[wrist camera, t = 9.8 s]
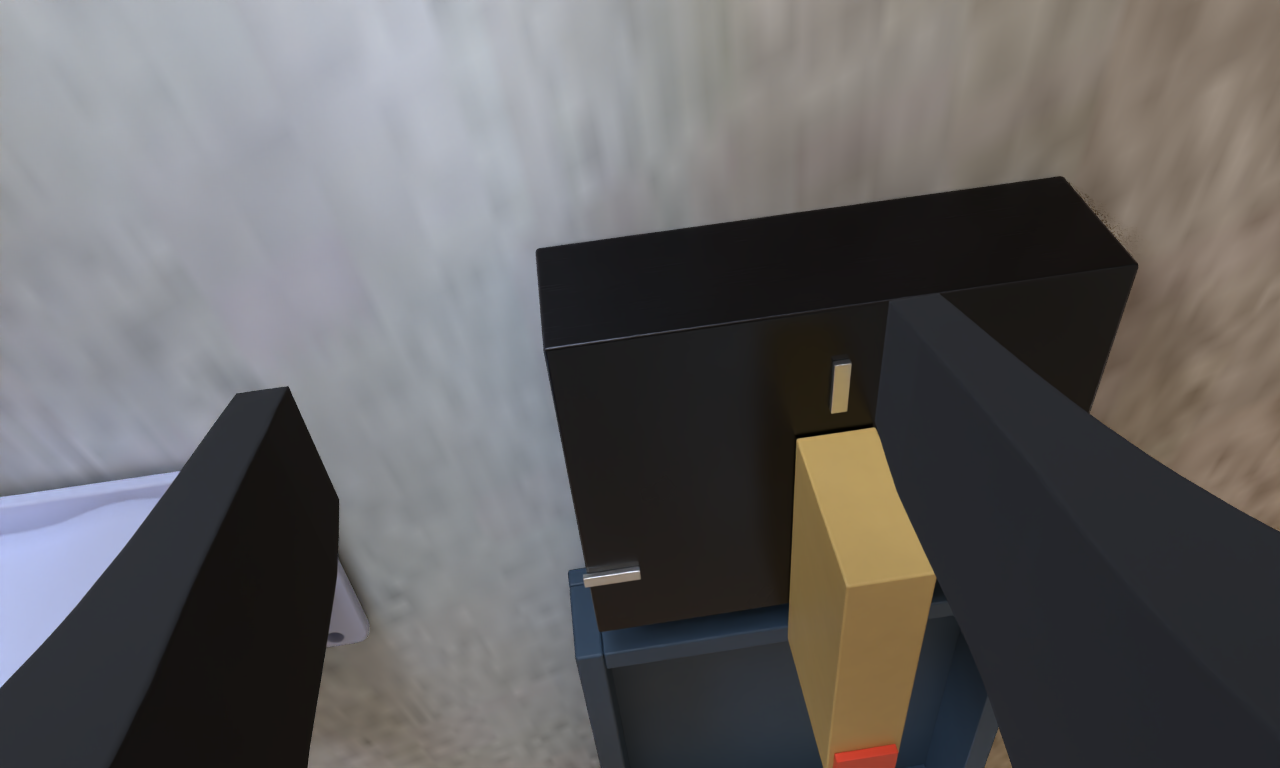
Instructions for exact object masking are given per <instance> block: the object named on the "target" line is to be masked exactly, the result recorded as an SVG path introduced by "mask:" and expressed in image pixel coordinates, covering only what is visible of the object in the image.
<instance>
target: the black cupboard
mask: <svg viewBox="0 0 1280 768" xmlns="http://www.w3.org/2000/svg"><path fill="white" fill-rule="evenodd" d="M536 264H537V276H538V288H539V301H540V313H541V325H542V338H543V350H544V355H545V360H546V366H547V371H548V376H549V381H550V386H551V391H552V396H553V401H554V407H555V412H556V417H557V422H558V427H559V432H560V437H561V442H562V448H563V453H564V458H565V463H566V468H567V473H568V478H569V484H570V489H571V494H572V499H573V504H574V509H575V514H576V519H577V525H578V530H579V535H580V540H581V545H582V550H583V555H584V561H585V566H586V571H587V574H583V580H584V585H585V588H587V587H590V591H591V596H592V602H593V607H594V612H595V617H596V622H597V627H598V630H599V632H605V631H612V630H618V629H625V628H631V627H638V626H644V625H651V624H657V623H664V622H670V621H677V620H683V619H690V618H696V617H703V616H709V615H716V614H722V613H729V612H735V611H742V610H748V609H755V608H761V607H768V606H774V605H781V604H787V603H789V598H790V575H791V553H792V530H793V508H794V486H795V463H796V441H797V439H799V438H805V437H812V436H819V435H826V434H833V433H839V432H846V431H853V430H860V429H866V428H873V427H874V428H876V430H877V427H876V424H875V414H876V406H877V398H878V390H879V382H880V373H881V365H882V357H883V349H884V341H885V332H886V324H887V316H888V308H889V301H891V300H898V299H905V298H912V297H919V296H926V295H933V294H940V295H941V296H943V297H944V298H945V299H946V300H948V301H949V302H950V303H951V304H953V305H954V306H955V307H956V308H957V309H959V310H960V311H961V312H962V313H963V314H965V315H966V316H967V317H968V318H969V319H971V320H972V321H973V322H974V323H975V324H977V325H978V326H979V327H980V328H981V329H983V330H984V331H985V332H986V333H987V334H989V335H990V336H991V337H992V338H993V339H995V340H996V341H997V342H998V343H999V344H1001V345H1002V346H1003V347H1004V348H1006V349H1007V350H1008V351H1009V352H1010V353H1012V354H1013V355H1014V356H1015V357H1017V358H1018V359H1019V360H1020V361H1021V362H1023V363H1024V364H1025V365H1026V366H1028V367H1029V368H1030V369H1031V370H1033V371H1034V372H1035V373H1036V374H1038V375H1039V376H1040V377H1042V378H1043V379H1044V380H1045V381H1047V382H1048V383H1049V384H1051V385H1052V386H1053V387H1054V388H1056V389H1057V390H1058V391H1060V392H1061V393H1062V394H1063V395H1065V396H1066V397H1067V398H1069V399H1070V400H1071V401H1073V402H1074V403H1075V404H1077V405H1078V406H1079V407H1081V408H1082V409H1084V410H1085V411H1086V412H1088V413H1089V414H1090V411H1091V408H1092V405H1093V402H1094V399H1095V396H1096V393H1097V390H1098V387H1099V384H1100V381H1101V378H1102V375H1103V372H1104V369H1105V366H1106V363H1107V360H1108V357H1109V354H1110V351H1111V348H1112V345H1113V342H1114V339H1115V336H1116V333H1117V330H1118V327H1119V324H1120V321H1121V318H1122V315H1123V312H1124V309H1125V306H1126V303H1127V300H1128V297H1129V294H1130V291H1131V288H1132V285H1133V282H1134V279H1135V276H1136V273H1137V270H1138V263H1137V262H1136V261H1135V260H1134V259H1133V257H1132V256H1131V255H1130V254H1129V253H1128V252H1127V250H1126V249H1125V248H1124V247H1123V246H1122V245H1121V243H1120V242H1119V241H1118V240H1117V239H1116V238H1115V237H1114V235H1113V234H1112V233H1111V232H1110V231H1109V230H1108V228H1107V227H1106V226H1105V225H1104V224H1103V223H1102V221H1101V220H1100V219H1099V218H1098V217H1097V216H1096V214H1095V213H1094V212H1093V211H1092V210H1091V209H1090V207H1089V206H1088V205H1087V204H1086V203H1085V202H1084V200H1083V199H1082V198H1081V197H1080V196H1079V195H1078V193H1077V192H1076V191H1075V190H1074V189H1073V188H1072V186H1071V185H1070V184H1069V183H1068V182H1067V181H1066V179H1065V178H1064V177H1061V176H1059V177H1052V178H1045V179H1038V180H1030V181H1023V182H1016V183H1009V184H1001V185H994V186H987V187H980V188H973V189H965V190H958V191H951V192H944V193H936V194H929V195H922V196H915V197H907V198H900V199H893V200H886V201H879V202H871V203H864V204H857V205H850V206H842V207H835V208H828V209H821V210H813V211H806V212H799V213H792V214H785V215H777V216H770V217H763V218H756V219H748V220H741V221H734V222H727V223H719V224H712V225H705V226H698V227H691V228H683V229H676V230H669V231H662V232H654V233H647V234H640V235H633V236H625V237H618V238H611V239H604V240H597V241H589V242H582V243H575V244H568V245H560V246H553V247H546V248H539V249H537V250H536ZM877 432H878V430H877ZM878 435H879V434H878ZM936 581H937V578H936Z"/></svg>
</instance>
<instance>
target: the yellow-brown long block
mask: <svg viewBox="0 0 1280 768" xmlns="http://www.w3.org/2000/svg"><path fill="white" fill-rule="evenodd" d="M935 583H936V576H935V574H934V571H933V569H932V567H931V565H930V563H929V561H928V559H927V557H926V554H925V552H924V550H923V548H922V546H921V544H920V542H919V539H918V537H917V535H916V533H915V531H914V528H913V526H912V524H911V522H910V520H909V518H908V515H907V513H906V511H905V509H904V507H903V504H902V502H901V500H900V498H899V495H898V493H897V491H896V488H895V485H894V481H893V478H892V475H891V472H890V469H889V466H888V463H887V460H886V457H885V453H884V450H883V447H882V443H881V440H880V437H879V435H878V432H877V430H876V428H874V427H873V428H866V429H860V430H853V431H846V432H839V433H833V434H826V435H819V436H812V437H805V438H799V439H797V441H796V463H795V486H794V508H793V530H792V553H791V575H790V598H789V620H788V641H789V644H790V648H791V652H792V655H793V659H794V663H795V666H796V670H797V674H798V677H799V681H800V685H801V688H802V692H803V696H804V699H805V703H806V707H807V710H808V714H809V718H810V721H811V725H812V728H813V732H814V736H815V739H816V743H817V747H818V750H819V754H820V758H821V761H822V765H823V768H895V766H896V762H897V757H898V753H899V748H900V744H901V739H902V734H903V730H904V725H905V721H906V716H907V712H908V707H909V702H910V698H911V693H912V689H913V684H914V679H915V675H916V670H917V666H918V661H919V656H920V652H921V647H922V643H923V638H924V633H925V629H926V624H927V620H928V615H929V610H930V606H931V601H932V597H933V592H934V588H935Z"/></svg>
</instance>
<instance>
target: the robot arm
mask: <svg viewBox="0 0 1280 768" xmlns="http://www.w3.org/2000/svg"><path fill="white" fill-rule="evenodd" d="M875 424H876V427H877V430H878V434H879V437H880V440H881V443H882V447H883V450H884V453H885V457H886V460H887V463H888V466H889V469H890V472H891V475H892V478H893V481H894V485H895V488H896V491H897V493H898V495H899V498H900V500H901V502H902V504H903V507H904V509H905V511H906V513H907V515H908V518H909V520H910V522H911V524H912V526H913V528H914V531H915V533H916V535H917V537H918V539H919V542H920V544H921V546H922V548H923V550H924V552H925V554H926V557H927V559H928V561H929V563H930V565H931V567H932V569H933V571H934V574H935V576H936V578H937V580H938V582H939V584H940V586H941V589H942V591H943V593H944V595H945V597H946V599H947V601H948V603H949V606H950V608H951V610H952V612H953V614H954V616H955V618H956V621H957V623H958V625H959V627H960V629H961V631H962V633H963V635H964V638H965V640H966V642H967V644H968V646H969V649H970V651H971V654H972V656H973V658H974V661H975V663H976V666H977V668H978V670H979V673H980V675H981V678H982V680H983V683H984V686H985V689H986V692H987V695H988V698H989V701H990V703H991V706H992V709H993V712H994V715H995V718H996V721H997V724H998V727H999V729H1000V732H1001V735H1002V738H1003V741H1004V744H1005V747H1006V750H1007V753H1008V756H1009V759H1010V762H1011V765H1012V768H1280V532H1279V531H1277V530H1275V529H1273V528H1271V527H1269V526H1268V525H1266V524H1264V523H1262V522H1260V521H1258V520H1257V519H1255V518H1253V517H1251V516H1249V515H1247V514H1246V513H1244V512H1242V511H1240V510H1238V509H1237V508H1235V507H1233V506H1231V505H1230V504H1228V503H1226V502H1225V501H1223V500H1221V499H1220V498H1218V497H1216V496H1214V495H1213V494H1211V493H1209V492H1208V491H1206V490H1204V489H1203V488H1201V487H1199V486H1198V485H1196V484H1194V483H1192V482H1191V481H1189V480H1187V479H1186V478H1184V477H1182V476H1181V475H1179V474H1177V473H1176V472H1174V471H1173V470H1171V469H1170V468H1168V467H1166V466H1165V465H1163V464H1162V463H1160V462H1158V461H1157V460H1155V459H1154V458H1152V457H1151V456H1149V455H1148V454H1146V453H1145V452H1143V451H1142V450H1140V449H1139V448H1138V447H1136V446H1135V445H1133V444H1132V443H1130V442H1129V441H1127V440H1126V439H1124V438H1123V437H1122V436H1120V435H1119V434H1117V433H1116V432H1114V431H1113V430H1111V429H1110V428H1108V427H1107V426H1106V425H1104V424H1103V423H1101V422H1100V421H1099V420H1097V419H1096V418H1094V417H1093V416H1092V415H1090V414H1089V413H1088V412H1086V411H1085V410H1084V409H1082V408H1081V407H1079V406H1078V405H1077V404H1075V403H1074V402H1073V401H1071V400H1070V399H1069V398H1067V397H1066V396H1065V395H1063V394H1062V393H1061V392H1060V391H1058V390H1057V389H1056V388H1054V387H1053V386H1052V385H1051V384H1049V383H1048V382H1047V381H1045V380H1044V379H1043V378H1042V377H1040V376H1039V375H1038V374H1036V373H1035V372H1034V371H1033V370H1031V369H1030V368H1029V367H1028V366H1026V365H1025V364H1024V363H1023V362H1021V361H1020V360H1019V359H1018V358H1017V357H1015V356H1014V355H1013V354H1012V353H1010V352H1009V351H1008V350H1007V349H1006V348H1004V347H1003V346H1002V345H1001V344H999V343H998V342H997V341H996V340H995V339H993V338H992V337H991V336H990V335H989V334H987V333H986V332H985V331H984V330H983V329H981V328H980V327H979V326H978V325H977V324H975V323H974V322H973V321H972V320H971V319H969V318H968V317H967V316H966V315H965V314H963V313H962V312H961V311H960V310H959V309H957V308H956V307H955V306H954V305H953V304H951V303H950V302H949V301H948V300H946V299H945V298H944V297H943V296H941V295H940V294H933V295H926V296H919V297H912V298H905V299H898V300H891V301H889V308H888V316H887V324H886V332H885V341H884V349H883V357H882V365H881V373H880V382H879V390H878V398H877V406H876V414H875ZM338 543H339V498H338V496H337V494H336V492H335V489H334V487H333V485H332V483H331V480H330V478H329V476H328V474H327V472H326V469H325V467H324V465H323V463H322V460H321V458H320V456H319V454H318V451H317V449H316V447H315V445H314V442H313V440H312V438H311V436H310V434H309V431H308V429H307V427H306V425H305V422H304V420H303V418H302V416H301V413H300V411H299V409H298V407H297V405H296V402H295V400H294V398H293V396H292V393H291V391H290V389H289V387H288V386H286V387H279V388H272V389H265V390H258V391H251V392H244V393H237V394H236V395H235V396H234V398H233V399H232V400H231V402H230V403H229V404H228V406H227V407H226V408H225V410H224V411H223V412H222V414H221V415H220V416H219V418H218V419H217V421H216V422H215V423H214V425H213V426H212V428H211V429H210V430H209V432H208V433H207V435H206V436H205V437H204V439H203V440H202V442H201V443H200V444H199V446H198V447H197V449H196V450H195V451H194V453H193V454H192V456H191V457H190V459H189V460H188V461H187V463H186V464H185V466H184V467H183V468H182V470H181V471H177V472H170V473H163V474H156V475H149V476H142V477H136V478H129V479H122V480H115V481H108V482H101V483H94V484H87V485H80V486H73V487H67V488H60V489H53V490H46V491H39V492H32V493H25V494H18V495H11V496H4V497H0V768H307V767H308V758H309V750H310V743H311V737H312V731H313V725H314V719H315V713H316V706H317V700H318V694H319V688H320V682H321V676H322V670H323V664H324V658H325V652H326V648H327V647H334V646H340V645H347V644H353V643H358V642H361V641H363V640H365V639H366V638H367V637H368V635H369V627H370V625H369V621H368V619H367V617H366V615H365V613H364V611H363V609H362V607H361V604H360V602H359V600H358V598H357V596H356V594H355V592H354V590H353V588H352V586H351V584H350V581H349V579H348V577H347V575H346V573H345V571H344V569H343V567H342V565H341V563H340V561H339V559H338Z"/></svg>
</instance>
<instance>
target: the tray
mask: <svg viewBox="0 0 1280 768" xmlns="http://www.w3.org/2000/svg"><path fill="white" fill-rule="evenodd" d="M583 574H587V571H586V568H581V569H575V570H570V571H569V572H568V578H569V587H570V600H571V612H572V623H573V635H574V646H575V658H576V663H577V667H578V671H579V675H580V680H581V684H582V688H583V693H584V697H585V701H586V706H587V710H588V714H589V719H590V723H591V727H592V732H593V736H594V740H595V745H596V749H597V753H598V758H599V762H600V766H601V768H823V765H822V761H821V758H820V754H819V750H818V747H817V743H816V739H815V736H814V732H813V728H812V725H811V721H810V718H809V714H808V710H807V707H806V703H805V699H804V696H803V692H802V688H801V685H800V681H799V677H798V674H797V670H796V666H795V663H794V659H793V655H792V652H791V648H790V644H789V641H788V620H789V603H787V604H781V605H774V606H768V607H761V608H755V609H748V610H742V611H735V612H729V613H722V614H716V615H709V616H703V617H696V618H690V619H683V620H677V621H670V622H664V623H657V624H651V625H644V626H638V627H631V628H625V629H618V630H612V631H605V632H599V630H598V627H597V622H596V617H595V612H594V607H593V602H592V596H591V591H590V587H587V588H585V585H584V580H583ZM997 730H998V724H997V721H996V718H995V715H994V712H993V709H992V706H991V703H990V701H989V698H988V695H987V692H986V689H985V686H984V683H983V680H982V678H981V675H980V673H979V670H978V668H977V666H976V663H975V661H974V658H973V656H972V654H971V651H970V649H969V646H968V644H967V642H966V640H965V638H964V635H963V633H962V631H961V629H960V627H959V625H958V623H957V621H956V618H955V616H954V614H953V612H952V610H951V608H950V606H949V603H948V601H947V599H946V597H945V595H944V593H943V591H942V589H941V586H940V584H939V582H938V580H937V581H936V583H935V588H934V592H933V597H932V601H931V606H930V610H929V615H928V620H927V624H926V629H925V633H924V638H923V643H922V647H921V652H920V656H919V661H918V666H917V670H916V675H915V679H914V684H913V689H912V693H911V698H910V702H909V707H908V712H907V716H906V721H905V725H904V730H903V734H902V739H901V744H900V748H899V753H898V757H897V762H896V766H895V768H984V767H985V764H986V761H987V758H988V756H989V753H990V750H991V747H992V744H993V742H994V739H995V736H996V733H997Z"/></svg>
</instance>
